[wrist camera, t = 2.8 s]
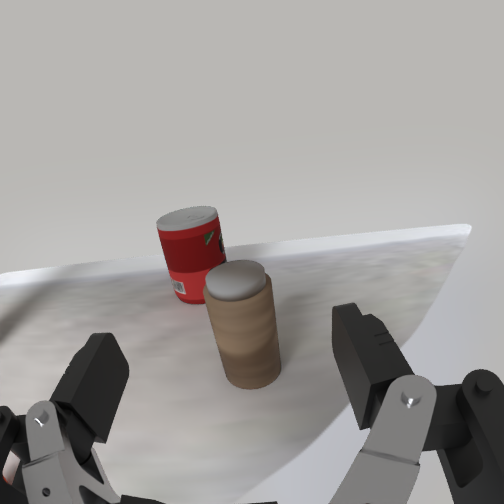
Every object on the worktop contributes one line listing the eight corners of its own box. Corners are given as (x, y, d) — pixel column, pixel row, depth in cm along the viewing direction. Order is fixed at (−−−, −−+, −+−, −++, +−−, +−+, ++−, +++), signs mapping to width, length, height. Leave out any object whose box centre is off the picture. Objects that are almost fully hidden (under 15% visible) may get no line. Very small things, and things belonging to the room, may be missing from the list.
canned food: (229, 303, 36) (212, 220, 32) (170, 307, 37) (146, 229, 32) (233, 273, 43) (220, 202, 39) (182, 279, 44) (165, 211, 39)
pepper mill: (270, 394, 22) (255, 296, 18) (216, 382, 24) (187, 288, 20) (287, 353, 27) (278, 259, 23) (238, 346, 29) (219, 256, 25)
